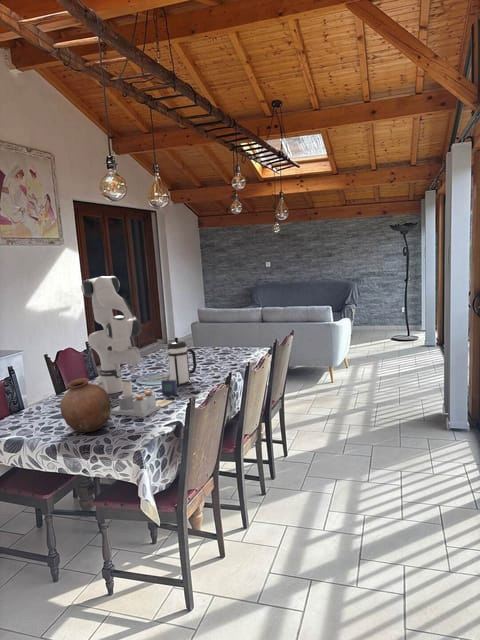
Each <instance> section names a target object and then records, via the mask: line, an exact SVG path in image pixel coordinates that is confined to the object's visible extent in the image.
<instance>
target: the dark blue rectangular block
mask: <svg viewBox="0 0 480 640" xmlns="http://www.w3.org/2000/svg"><path fill="white" fill-rule="evenodd" d="M160 381H161V389H162V390H161V393H162V395H163V396H176V395H178V387H177V384H176V379H173V380H170V376H167V377H166V378H163V379H161V380H160Z"/></svg>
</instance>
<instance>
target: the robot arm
mask: <svg viewBox="0 0 480 640" xmlns="http://www.w3.org/2000/svg"><path fill="white" fill-rule="evenodd" d="M120 286H121V284H120V281H119V278H118V277H116V276H115V275H110V276H105V275H102V276H98V277H94V278H90V279H85V280H82V282H81V285H80V287H81V288H80V289H81V292H82V294H83V296H85V297H87V298H91V304H92V310H93V311H92V312H93V316H94V321H95V322H96V323H98V324H99V325H101V326H102V328H103V329H102V330H97V331H94V332H92V333H90V334H89V335H88V337H87V344H88V346H89V347H90V348H91V349H93V350H94V351H95V352H96V353H97V355H98V357H99V360H100V365H101V366H100V367H101V369H100V370H99V371H98V373H99V376H98V377H97V378H96V379H95V380H94V381H93V382H92V384H94V385H97V386H100V387H101V388H103V389H104V390H105V391H106V392H107V394H108V395H110V394H116V393H120V392H123V390H122V380H123V378H122V367H121V365H130V366H131V368H130V369H129V371H130V373H135V372H136V371H135V368H136V366H137V365H139V364H141V363H142V357H141V352H140V349H139V347H137V346H132V342H131V338H135V337H137V336H139V335H140V333H142V324H141V322H140V320H139V319H138V318H137V317H136V316H135V314H134V312H133V310H132V309H131V307H130V305H129V303H128V302H127V300H126V299H125V298H124V297H123V296H120V294H119V293H118V292H119V290H120ZM113 310H116V311H119V312H122V314H123V315H121V314H120V315H115V316H114V313H113Z"/></svg>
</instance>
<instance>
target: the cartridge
mask: <svg viewBox="0 0 480 640" xmlns="http://www.w3.org/2000/svg"><path fill="white" fill-rule="evenodd" d="M122 390H123V391H122V395H123V398H129V397H133V383H132V380H131V379H127V378H126V379H125V378H122Z"/></svg>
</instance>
